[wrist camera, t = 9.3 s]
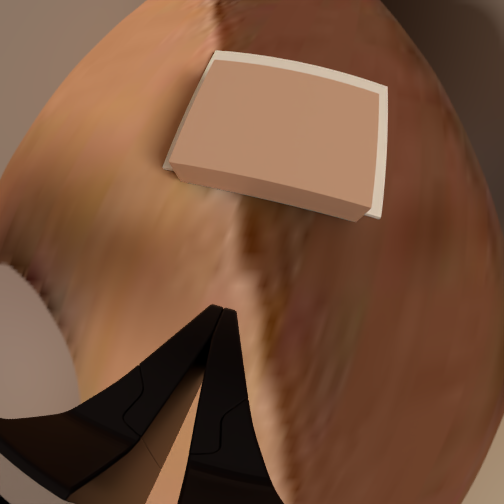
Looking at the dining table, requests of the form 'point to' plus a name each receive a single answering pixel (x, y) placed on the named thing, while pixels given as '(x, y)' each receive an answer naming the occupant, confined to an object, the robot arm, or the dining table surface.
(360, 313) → the dining table surface
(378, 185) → the mat
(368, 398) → the dining table surface
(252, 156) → the tile
